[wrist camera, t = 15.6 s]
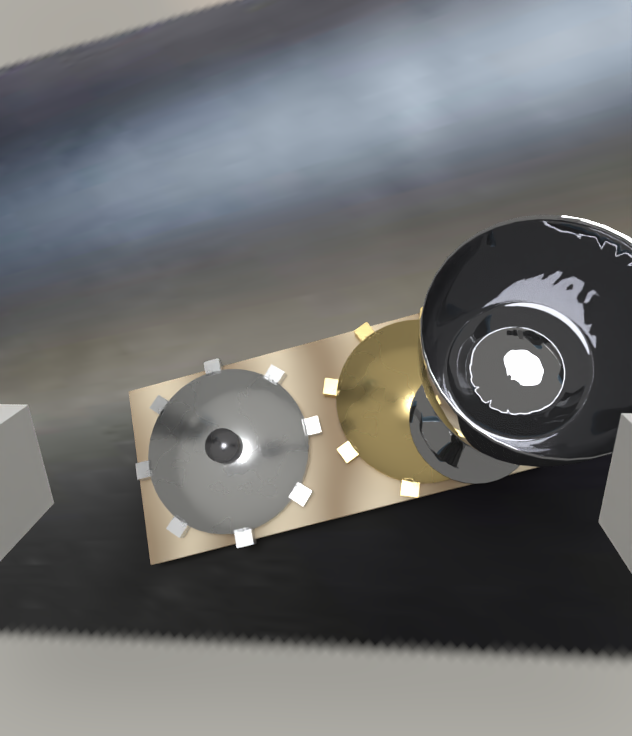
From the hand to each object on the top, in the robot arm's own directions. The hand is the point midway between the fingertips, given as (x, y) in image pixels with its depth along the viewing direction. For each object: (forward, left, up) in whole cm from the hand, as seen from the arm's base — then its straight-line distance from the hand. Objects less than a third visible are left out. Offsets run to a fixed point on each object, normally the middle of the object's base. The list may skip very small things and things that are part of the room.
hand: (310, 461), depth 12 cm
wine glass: (+8, +3, -19) cm, 21 cm away
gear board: (-1, +5, -21) cm, 22 cm away
